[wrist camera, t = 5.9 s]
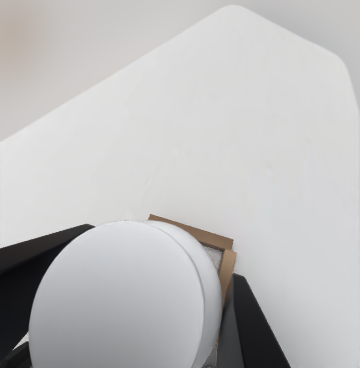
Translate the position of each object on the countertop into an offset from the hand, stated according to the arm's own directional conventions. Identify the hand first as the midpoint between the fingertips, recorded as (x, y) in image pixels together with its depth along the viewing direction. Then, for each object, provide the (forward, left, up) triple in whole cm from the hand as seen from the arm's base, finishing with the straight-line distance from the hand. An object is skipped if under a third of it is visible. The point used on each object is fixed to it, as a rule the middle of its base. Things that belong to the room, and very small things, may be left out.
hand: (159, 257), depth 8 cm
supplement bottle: (-1, -1, -7) cm, 7 cm away
